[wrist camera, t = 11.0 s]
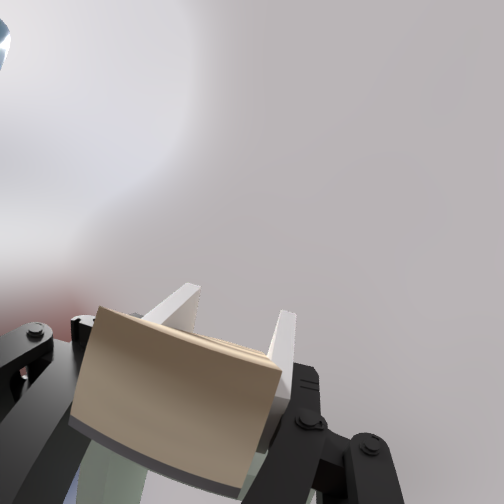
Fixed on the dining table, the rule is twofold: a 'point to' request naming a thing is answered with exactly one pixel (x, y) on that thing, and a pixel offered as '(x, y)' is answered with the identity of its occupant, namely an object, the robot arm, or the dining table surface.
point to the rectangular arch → (131, 478)
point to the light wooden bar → (174, 400)
